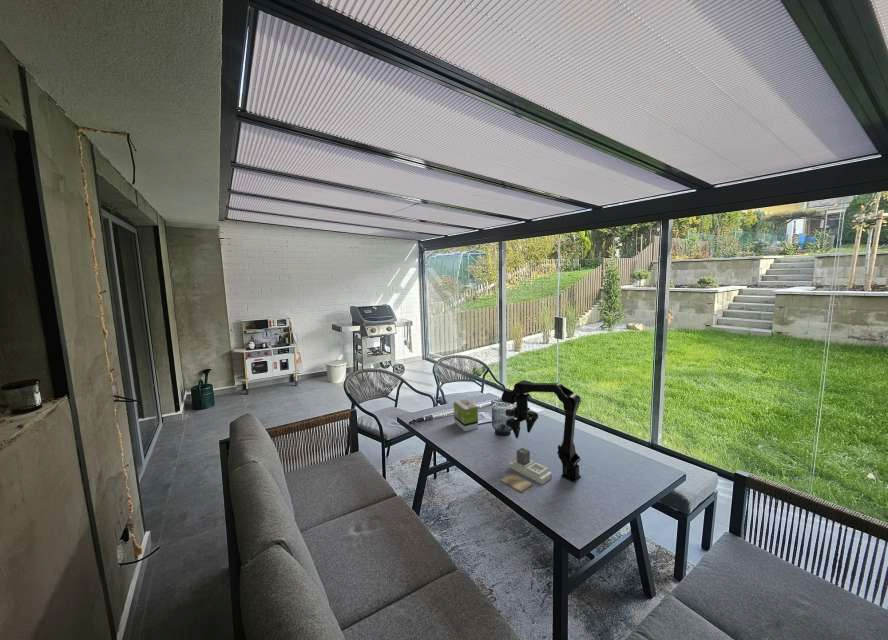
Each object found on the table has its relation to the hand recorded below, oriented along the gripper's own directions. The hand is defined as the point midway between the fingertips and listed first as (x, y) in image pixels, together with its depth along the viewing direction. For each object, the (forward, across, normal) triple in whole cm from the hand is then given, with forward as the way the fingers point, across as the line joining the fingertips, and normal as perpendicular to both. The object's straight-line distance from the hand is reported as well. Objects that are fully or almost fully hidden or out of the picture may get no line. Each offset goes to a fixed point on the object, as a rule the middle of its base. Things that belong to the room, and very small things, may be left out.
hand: (522, 435), depth 174 cm
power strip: (+14, +6, +9) cm, 18 cm away
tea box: (+13, -6, -51) cm, 53 cm away
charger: (+11, +6, +5) cm, 14 cm away
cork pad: (+14, +18, +10) cm, 25 cm away
